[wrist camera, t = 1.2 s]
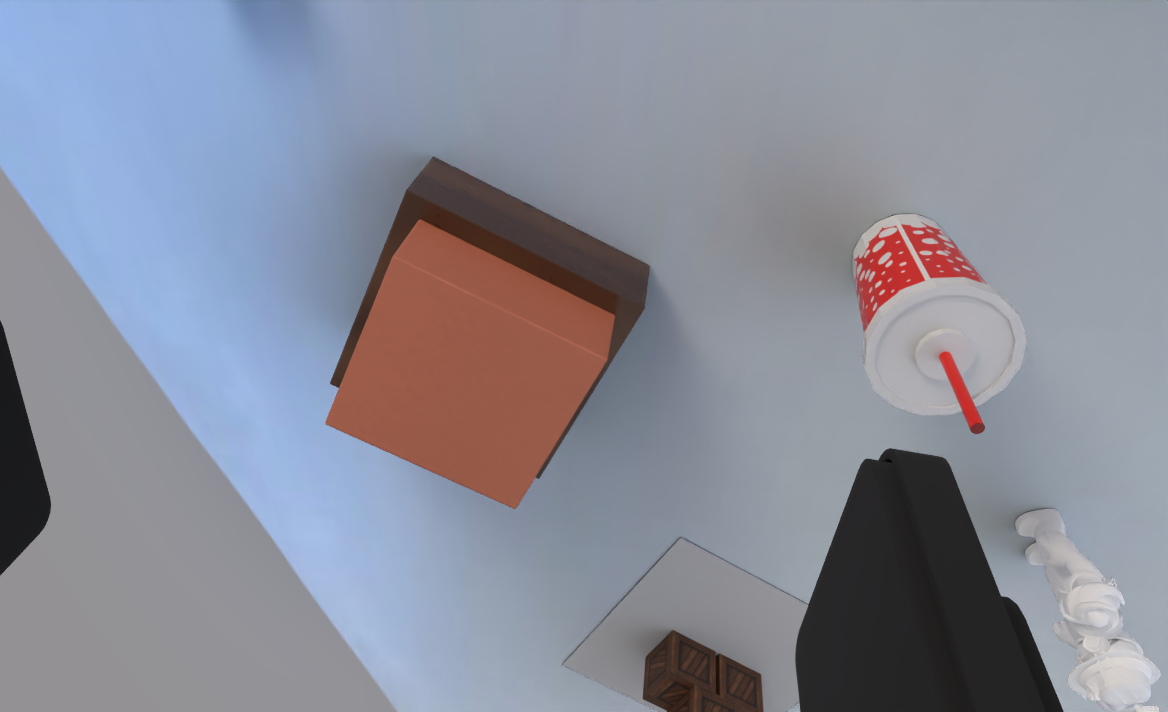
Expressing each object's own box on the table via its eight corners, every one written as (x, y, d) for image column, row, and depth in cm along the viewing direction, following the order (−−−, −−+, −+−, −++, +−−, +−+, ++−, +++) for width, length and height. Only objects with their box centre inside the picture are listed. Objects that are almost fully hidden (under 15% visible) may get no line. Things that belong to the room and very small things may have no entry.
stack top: (419, 218, 39) (392, 255, 36) (616, 314, 40) (608, 359, 37) (353, 378, 44) (324, 424, 41) (529, 459, 46) (515, 510, 42)
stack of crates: (875, 640, 56) (894, 734, 50) (738, 749, 63) (741, 842, 58) (680, 537, 53) (677, 624, 47) (562, 664, 61) (547, 753, 55)
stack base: (433, 156, 42) (406, 189, 38) (650, 265, 44) (645, 307, 40) (358, 339, 48) (329, 383, 44) (551, 429, 50) (538, 479, 46)
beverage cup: (844, 323, 44) (895, 506, 32) (826, 214, 41) (876, 371, 29) (971, 299, 43) (1074, 482, 31) (962, 184, 40) (1072, 338, 28)
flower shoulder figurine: (1093, 580, 51) (1190, 768, 41) (1023, 594, 52) (1100, 779, 42) (1068, 466, 47) (1169, 643, 37) (993, 484, 48) (1070, 660, 38)
